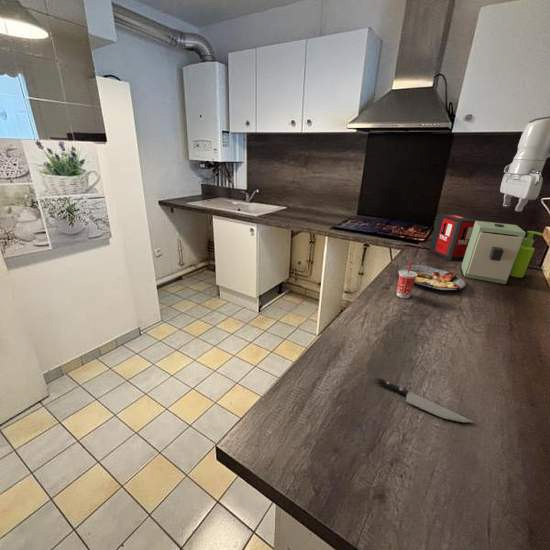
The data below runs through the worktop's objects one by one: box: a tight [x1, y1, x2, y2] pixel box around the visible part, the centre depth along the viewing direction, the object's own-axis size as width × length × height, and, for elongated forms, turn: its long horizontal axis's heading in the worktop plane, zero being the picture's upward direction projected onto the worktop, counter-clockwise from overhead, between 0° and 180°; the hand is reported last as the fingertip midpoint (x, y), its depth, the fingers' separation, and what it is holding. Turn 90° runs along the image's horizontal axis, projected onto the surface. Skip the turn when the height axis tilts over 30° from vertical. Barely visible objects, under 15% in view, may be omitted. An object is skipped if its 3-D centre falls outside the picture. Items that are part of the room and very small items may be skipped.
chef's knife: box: [376, 377, 474, 423], centre depth 61 cm, size 19×1×3 cm
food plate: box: [397, 264, 467, 292], centre depth 120 cm, size 25×23×4 cm
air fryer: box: [461, 220, 527, 285], centre depth 124 cm, size 14×15×23 cm
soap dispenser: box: [509, 230, 545, 279], centre depth 126 cm, size 6×7×20 cm
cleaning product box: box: [428, 213, 478, 262], centre depth 149 cm, size 16×9×20 cm, turn 10°
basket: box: [467, 232, 524, 282], centre depth 122 cm, size 17×14×18 cm
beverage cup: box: [396, 259, 417, 299], centre depth 105 cm, size 6×6×14 cm
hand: (511, 208), depth 107 cm, fingers open, 8 cm apart
